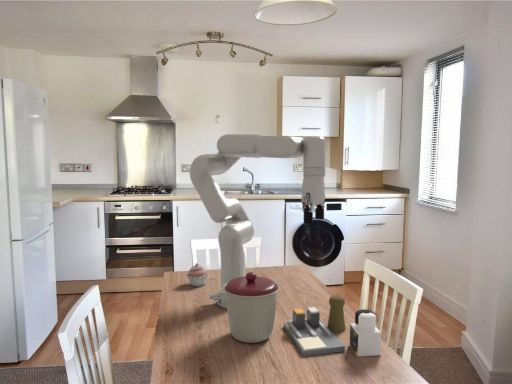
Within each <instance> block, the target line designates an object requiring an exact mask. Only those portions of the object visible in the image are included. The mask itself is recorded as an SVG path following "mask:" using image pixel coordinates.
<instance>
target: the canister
mask: <svg viewBox="0 0 512 384" xmlns="http://www.w3.org/2000/svg"><path fill="white" fill-rule="evenodd" d="M223 290H224V292H225V295H226V304H227V308H226V309H227V311H226V312H227V318H228V326H229V330H230V333H231V335H232V337H233V338H234V339H235V340H237V341H239V342H242V343H246V344H256V343H261V342H264V341H266V340H268V339H269V337H270V336H271V334H272V333H273V329H274V324H275V317H276V309H277V299H278V292H279V291H280V285H279V284H278V283H277V282H276V281H274V280H272V279H271V278H268V277H264V276H261V275H260V276H259V275H257V273H255V272H253V271H249V272H247V273H245V276H244V277H238V278H235V279H232V280H230V281H229V282H227V283H226V284H224V286H223Z"/></svg>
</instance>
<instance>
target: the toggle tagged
mask: <svg viewBox="0 0 512 384" xmlns="http://www.w3.org/2000/svg"><path fill="white" fill-rule="evenodd" d="M305 319H306V314H305V311H304V310H303V309H302V308H301V307H300V308H293V310H292V320H293V325H294V326H295V328H296V329H298V328H305Z"/></svg>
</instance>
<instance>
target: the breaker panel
mask: <svg viewBox="0 0 512 384" xmlns="http://www.w3.org/2000/svg"><path fill="white" fill-rule="evenodd" d="M325 324H326V323H324V322H323V320H322V319H319V326H316V327H310V326H309V324H308V323H307V318H305V328H298V329H296V328H295V326H294V325H293V319H292V320H291V319H290V320H287V322H283V328H284V329H285V331H286V333H287V334H288V335H289V338H291V340H292V342H293V343H294V345H295V346H296V348H297V349H298V350H299V352H300V353H301V355H302V356H303V357H307V356H314V355H321V354H322V355H325V354H330V353H331V354H332V353H340V352H345V351H346V349H345V348H346V347H345V344H344V343H342V341H341V340H340V339H339V338H338V337H337V336H336V335H335V334H334V332H333V331H330V330H329V328H328V327H327V326H328V325H325Z"/></svg>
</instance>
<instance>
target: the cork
mask: <svg viewBox="0 0 512 384" xmlns="http://www.w3.org/2000/svg"><path fill="white" fill-rule="evenodd" d="M345 301H346V300H345V298H344V297H343V296H341V295H337V294H335V295H331V296H330V297H329V299H328V302H329V306H330V307H329V314H328V321H327V325H326V326H327V327H328V328H329V330H330V331H331V332H332V333H342V332H345V331H346V322H345V314H344V313H345V312H344V306H345V304H346V302H345Z"/></svg>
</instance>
